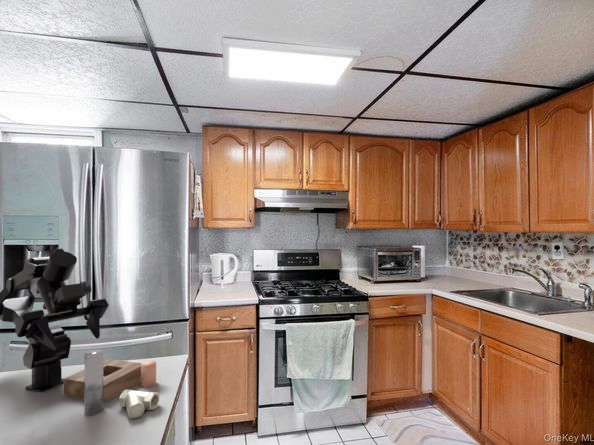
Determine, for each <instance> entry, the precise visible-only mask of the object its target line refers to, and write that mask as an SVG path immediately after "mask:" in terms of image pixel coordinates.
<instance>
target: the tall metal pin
mask: <svg viewBox="0 0 594 445" xmlns="http://www.w3.org/2000/svg"><path fill="white" fill-rule="evenodd" d="M103 361H104V350H102V349H93V350H90V351H87V352H85V353H84V369H85V399H84V415H85V416H94V415H98V414H100V413H101V412H103V411H104V402H103Z"/></svg>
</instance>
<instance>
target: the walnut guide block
mask: <svg viewBox="0 0 594 445" xmlns="http://www.w3.org/2000/svg"><path fill="white" fill-rule="evenodd" d="M142 363H143V362H142ZM142 363H141V362H135V361H127V360H120V359H111V358H106V359H105V360H103V403H105V402H107V401H109V400H111V399H112V398H114V397H116V396H118V395H120V394H121V393H122V392H123V391H124V390H129V389H130V388H132V387H133V386H135V385H137V384H138V383H141V364H142ZM63 379H64V383H63V395H64V396H67V397H72V398H79V399H83V400H85V368H84V369H82V370H80V371H78V372H74V373H73V374H71V375H69V376H67V377H65V378H64V377H63Z"/></svg>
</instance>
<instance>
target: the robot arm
mask: <svg viewBox="0 0 594 445" xmlns="http://www.w3.org/2000/svg"><path fill="white" fill-rule="evenodd" d="M77 263H78V257H76V255H74V254H73V253H71V252H69V251H64V248H53V251H52V253H51V254H50V255H49V256H40V257H29V258H28V259H27V260H26V262H25V263H24V265H23V266H24V267H23V269H22V271H20V272H18V273H17V274H16V275H14V276H13V277H9V278H7V279H6V283H5V284H6V285H5V287H4V288H3V289H1V291H0V320H1V321H2V322H4V323H5V322H6V323H13V324H14V325H15V327H14V328H15V329H14V330H15V333H16V334H15V335H16V336H17V338H23V337H24V338H26V339H27V341H28V342H29V343H28V346H27V348H26V350H25V353H24V354H23V356H22V361H23V366H24V367H26V368H27V369H30V370H31V384H28V385H27V386H25V390H28V391H32V392H33V391H34V392H39V393H43V392H46V391H48V390H51V389H52V388H56V387H57V386H59V385H61V384H64V377H63V376H62V372H63V371H62V369H63V368H62V360H65V359H69V355H70V350H71V346H72V340H71V338H70V336H69V335H68V334H67V333H66V330H65V329H63V328H62V327H61V325H58V324H55V325H50V326H49V323H54V322H58V321H59V322H60V321H62V322H63V321H67V320H71V319H75V318H80V317H84V320H85V321H86V322H85V324H86V326H87V327H88V329H89V330H90V332H91V334H92V335H93V337H95V339H97V340H98V339H100V337H101V324H100V323H101V322H100V321H101V320H100V319H102V318H103V317H104V315H105V313H106V311H107V310H108V308H109V306H110V304H109V302H108V300H107V299H106V298H98V299H93V300H89V301H88V302H87V305H86V306H85V307H81V308H78V306H80V305H81V303H82V301H81V299H82V298H84V297H85V296H88V295H89V294H90V293H92V285H91V284H90V283H89V281H88V280H87V281H85V280H84V281H80V282H79V283H74V284H66V281H68V280H70V277H71V275H72V274H73V273H72V272H73V271H74V268H75V266H76V264H77ZM33 285H35V286H36V289H35V294H37V295H40V297H41V299H42V301H43V305H42V309H38V310H33V309H34V304H35V300H36V299H35V298H36V297H35V295H34V294H33V292H32V290H31V288H32V286H33ZM23 290H24V291H25V290H27V291H28V295H25V296H18V297H11V298H9V297H10V295H11V294H12V293H13V292H16V291H23ZM44 310H46V311H47V313H45V312H44ZM62 377H63V378H62Z"/></svg>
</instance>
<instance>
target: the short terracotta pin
mask: <svg viewBox="0 0 594 445" xmlns="http://www.w3.org/2000/svg"><path fill="white" fill-rule="evenodd" d="M140 384H141V388H144V389H145V388H151V387H154V386H156V385H157V361H156V360H147V361H143V362H142V364H141V381H140Z"/></svg>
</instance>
